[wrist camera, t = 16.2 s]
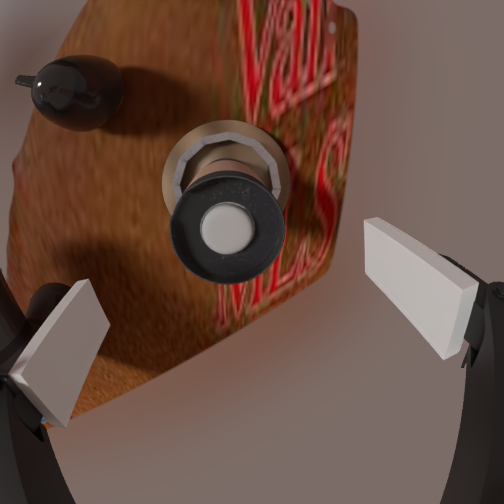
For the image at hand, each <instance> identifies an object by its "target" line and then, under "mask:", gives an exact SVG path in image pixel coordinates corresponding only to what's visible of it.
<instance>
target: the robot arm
mask: <svg viewBox="0 0 504 504" xmlns="http://www.w3.org/2000/svg"><path fill="white" fill-rule="evenodd" d="M364 238H365V273H366V274H367V275H368V276H369V277H370V278H371V280H372V281H373V282H374V283H375V284H376V285H377V286H378V287H379V288H380V289H381V290H382V291H383V292H384V293H385V294H386V295H387V296H388V298H389V299H390V300H391V301H392V302H393V303H394V304H395V305H396V306H397V307H398V308H399V310H400V311H401V312H402V313H403V314H404V315H405V316H406V317H407V318H408V320H409V321H410V322H411V323H412V324H413V325H414V326H415V327H416V329H417V330H418V331H419V332H420V333H421V334H422V335H423V337H424V338H425V339H426V340H427V341H428V342H429V344H430V345H431V346H432V347H433V348H434V350H435V351H436V352H437V353H438V354H439V356H440V357H441V358H442V359H443V360H445V359H447V358H449V357H451V356H453V355H454V354H456V353H458V352H459V351H460V348H461V345H462V342H463V340H464V339H465V340H466V341H467V342H468V343H469V347H468V350H467V353H466V355H465V358H464V360H463V363H462V366H461V368H464V366H465V364H466V363H467V366H466V367H467V368H466V383H465V394H464V402H463V410H462V417H461V423H460V429H459V434H458V440H457V445H456V450H455V454H454V458H453V462H452V466H451V470H450V473H449V477H448V480H447V484H446V487H445V490H444V493H443V496H442V499H441V502H440V504H504V283H503V282H492V283H489V284H487V283H486V282H484V281H483V280H481V279H480V278H479V277H477V276H476V275H475V274H473V273H472V272H470V271H469V270H467V269H465V267H463V266H462V265H460V264H459V265H458V263H457V262H456V261H454V260H453V259H451V258H450V257H447V256H444V255H441V254H437V253H436V252H434V251H433V250H431V249H430V248H428V247H426V246H425V245H423V244H422V243H420V242H419V241H417V240H415V239H414V238H412V237H411V236H409V235H407V234H406V233H404V232H402V231H401V230H399V229H397V228H396V227H394V226H392V225H391V224H389V223H387V222H386V221H384V220H382V219H381V218H379V217H375V218H370V219H365V220H364ZM109 327H110V323H109V321H108V319H107V317H106V315H105V313H104V311H103V309H102V307H101V305H100V303H99V301H98V299H97V296H96V294H95V292H94V290H93V287H92V285H91V283H90V281H89V279H85V280H81V281H77V282H76V283H75V284H74V285H73V287H72V288H69V287H67V286H65V285H62V284H58V283H48V284H45V285H43V286H41V287H40V288H39V289H38V290H37V291H36V292H35V293H34V295H33V296H32V298H31V300H30V303H29V306H28V309H27V312H26V315H25V316H24V314H23V312H22V311H21V309H20V307H19V305H18V304H17V302H16V300H15V298H14V296H13V294H12V293H11V291H10V289H9V287H8V285H7V282H6V280H5V278H4V276H3V274H2V269H1V268H0V504H76V503H75V501H74V499H73V497H72V495H71V493H70V491H69V489H68V486H67V484H66V482H65V480H64V477H63V475H62V473H61V470H60V467H59V465H58V462H57V460H56V458H55V454H54V451H53V449H52V446H51V443H50V440H49V436H48V433H47V430H46V428H45V426H44V425H43V424H44V423H46V422H47V421H48V422H49V423H50V424H51V425H52V426H55V427H62V428H66V427H67V424H68V422H69V419H70V416H71V414H72V411H73V409H74V406H75V403H76V401H77V398H78V396H79V393H80V391H81V389H82V386H83V384H84V381H85V379H86V377H87V375H88V372H89V370H90V368H91V365H92V363H93V361H94V359H95V357H96V354H97V352H98V350H99V348H100V346H101V344H102V342H103V339H104V337H105V335H106V333H107V331H108V329H109Z"/></svg>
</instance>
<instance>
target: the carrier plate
mask: <svg viewBox="0 0 504 504" xmlns="http://www.w3.org/2000/svg"><path fill="white" fill-rule="evenodd" d="M221 158H231V159H235V160H238V161H240V162H241V163H243V164H245V165H246V166H248V167H249V168H250V169H252V170H253V171H254V172H255V174H256V175H257V176H258V177H259V178H260V179H261V181H262V182H263V183H264V184H265V186H266V187H267V188H268V189H269V190H270V192H271V193H272V194H273V195H274V197H275V198H276V200H277V201H278V203H279V205H280V207H281V209H282V213H283V211H284V209H285V207H286V204H287V201H288V198H289V194H290V185H291V178H290V170H289V166H288V163H287V160H286V157H285V155H284V153H283V152H282V150H281V148H280V147H279V146H278V144H277V143H276V142H275V141H274V140H273V139H272V138H271V137H270V136H269V135H268V134H267V133H265V132H264V131H263V130H261V129H259V128H258V127H256V126H253V125H251V124H248V123H245V122H241V121H235V120H219V121H213V122H209V123H206V124H203V125H201V126H199V127H197V128H195V129H193V130H192V131H190V132H189V133H187V134H186V135H185V136H184V137H182V138H181V139H180V141H179V142H178V143H177V144H176V145H175V147H174V148H173V149H172V151H171V153H170V155H169V156H168V158H167V161H166V164H165V167H164V171H163V178H162V189H163V196H164V200H165V203H166V206H167V208H168V210H169V212H170V214H171V216H172V214H173V211H174V209H175V206H176V204H177V202H178V201H179V199H180V197H181V196H182V194H183V193H184V191H185V190H186V188H187V187H188V186H189V184H190V183H191V181H192V180H193V179H194V177H195V176H196V175H197V173H198V172H199V171H200V170H201V169H202V168H204V167H205V166H206V165H208V164H209V163H211V162H213V161H214V160H217V159H221Z"/></svg>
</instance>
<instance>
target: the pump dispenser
mask: <svg viewBox="0 0 504 504" xmlns="http://www.w3.org/2000/svg"><path fill="white" fill-rule="evenodd" d="M15 84H17V85H21V86H26V87H29V88H31V98H32V102H33V104H34V106H35V108H36V109H37V110H38V112H39V113H40V114H41V115H42V116H44V117H45V118H46V119H48V120H49V121H51V122H52V123H54V124H56V125H58V126H60V127H62V128H65V129H68V130H72V131H77V132H87V131H92V130H95V129H97V128H99V127H101V126H102V125H104V124H105V123H106V122H108V121H109V120H110V119H111V118H112V116H113V115H114V114H115V112H116V111H117V110H118V108H119V106H120V104H121V101H122V98H123V94H124V79H123V75H122V73H121V71H120V69H119V68H118V67H117V65H115V64H114V63H113V62H111V61H110V60H108V59H105V58H102V57H98V56H92V55H71V56H65V57H61V58H58V59H55V60H53V61H51V62H50V63H48V64H46V65H45V66H44V67H43V68H42V69H41V70H40V71H39V72H38V73H37V75H36V76H28V75H18V76H17V77H16V79H15Z"/></svg>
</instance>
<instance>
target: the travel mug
mask: <svg viewBox="0 0 504 504" xmlns="http://www.w3.org/2000/svg"><path fill="white" fill-rule="evenodd" d="M169 232H170V239H171V243H172V246H173V249H174V251H175V253H176V256H177V257H178V259H179V260H180V262H181V263H182V264H183V265H184V266H185V267H186V268H187V269H188V270H189V271H190V272H191V273H193V274H194V275H195V276H197V277H199V278H201V279H203V280H205V281H208V282H211V283H215V284H223V285H231V284H238V283H243V282H246V281H249V280H251V279H253V278H255V277H257V276H259V275H260V274H262V273H263V272H264V271H266V270H267V269H268V268H269V267H270V266H271V265H272V264H273V262H274V261H275V260H276V258H277V257H278V255H279V253H280V251H281V248H282V246H283V242H284V237H285V221H284V216H283V213H282V209H281V207H280V205H279V203H278V201H277V200H276V198H275V197H274V195H273V194H272V193H271V192H270V190H269V189H268V188H267V187H266V186H265V184H264V183H263V182H262V181H261V179H260V178H259V177H258V176H257V175H256V174H255V172H254V171H253V170H252V169H250V168H249V167H248V166H246V165H245V164H243V163H241V162H240V161H238V160H235V159H231V158H221V159H217V160H214V161H213V162H211V163H209V164H208V165H206V166H205V167H204V168H202V169H201V170H200V171H199V172H198V173H197V175H196V176H195V177H194V179H193V180H192V181H191V183H190V184H189V186H188V187H187V188H186V190H185V191H184V193H183V194H182V196H181V197H180V199H179V201H178V202H177V204H176V206H175V209H174V211H173V214H172V217H171V219H170V223H169Z"/></svg>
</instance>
